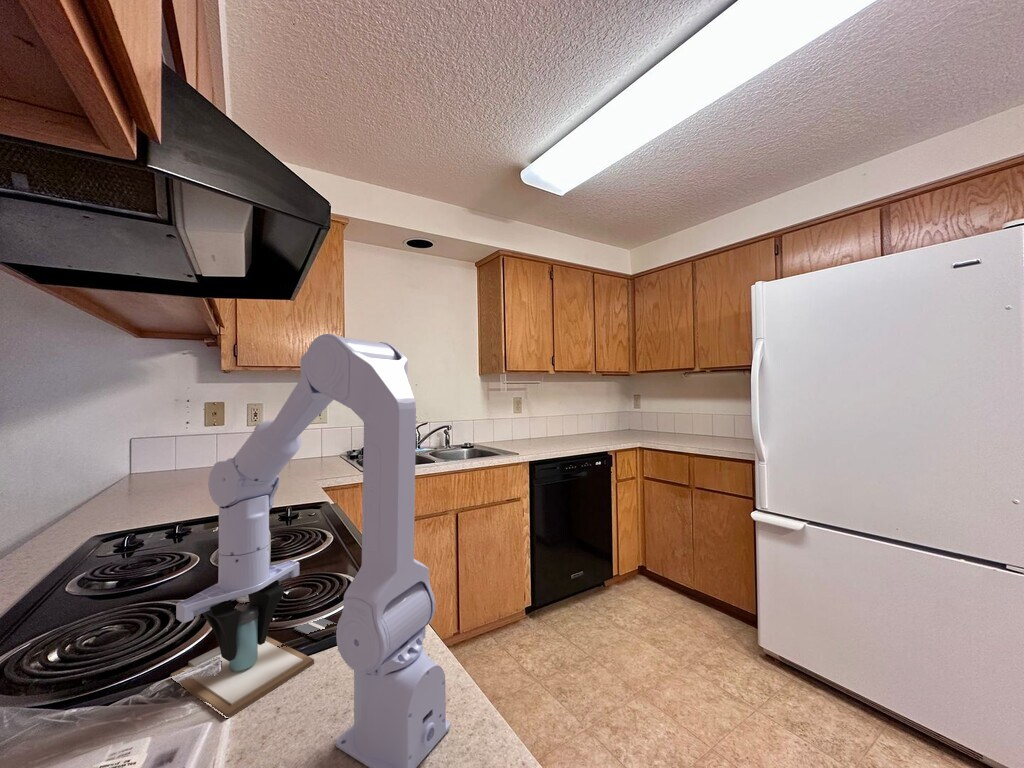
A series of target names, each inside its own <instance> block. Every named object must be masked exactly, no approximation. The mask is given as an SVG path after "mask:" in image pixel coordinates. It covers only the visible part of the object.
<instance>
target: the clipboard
mask: <svg viewBox="0 0 1024 768" xmlns="http://www.w3.org/2000/svg"><path fill="white" fill-rule="evenodd" d="M282 644H283V643H282V642H280V641H278V640H276V639H274V638H272V637H269V635H267V636H266V640H265V643H264V644H262V645H259V644H258V660H257V662H256V663H255V664H254V665H252V666H251V667H249V668H246V669H244V670H240V671H232V670H230V669H229V661H228V660H226V659H224V658H222V656H221V651H220V647H219V646H217V647H215V648H213V649H211V650H209V651H207V652H205V653H203V654H201V655H199V656H197V657H195V658H192V659H191V660H189V661H187V662H188V665H185V666H184V667H182V668H180V669H178V670H175V671H174V672H172V673H170V677H172V676H175V675H177V674H180V673H181V672H185V671H187V670H189V669H191V668H193V667H195V666H197V665H200V664H202V663H205V662H207V661H209V660H211V659H213V658H216V657H220V658H221V661H222V669H221V671H220V672H219V673H218V675H216V676H214V675H213V676H211V675H210V676H205V677H204V676H202V677H201V676H197V675H195V676H194V675H192V676H191V677H192V678H193V679H190V678H189V679H187V678H186V679H185V680H182V681H180V682H181V684H182V686H183V687H184V688H185V689H186V690H185V689H184V688H183V689H184V690H185V691H186V692H187V693H189V694H191V695H192V696H194V697H195V696H196V697H198V698H199V699H201V700H202V701H204V702H207V703H209V704H211V705H212V707H214V708H215V709H217V710H218V711H220V712H221V713H223V715H225V716H226V717H230V718H232V717H233V716H235V715H236V714H238V713H239V712H241V711H242V710H244V709H246V708H247V707H249V706H251V705H252V704H253V703H256V702H257V701H258V700H260V699H261V698H263V697H264V696H266V695H268V694H269V693H270V692H272V691H274V690H275V689H277V688H278V687H280V686H282V685H283V684H285V683H286V682H288V681H290V680H292V678H294V677H295V676H297V675H298V674H300V673H301V672H304V671H305V670H307V669H308V668H309V667H312V665H314V664H315V659H314V658H313V657H311V656H308V655H307V654H304V653H303V652H300V651H298V650H296V649H294V648H292V647H290V646H288V645H286V646H287V647H286V646H283V647H281V645H282ZM277 646H279V647H280V648H279V647H277ZM196 697H195V698H196ZM198 698H197V699H198ZM199 699H198V700H199ZM202 701H201V702H202Z"/></svg>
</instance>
